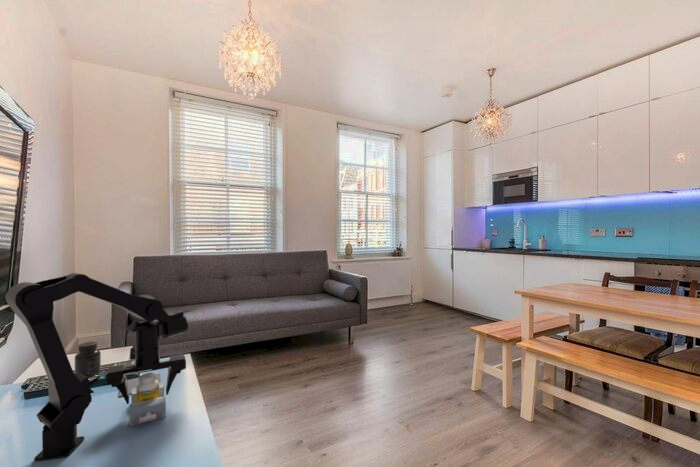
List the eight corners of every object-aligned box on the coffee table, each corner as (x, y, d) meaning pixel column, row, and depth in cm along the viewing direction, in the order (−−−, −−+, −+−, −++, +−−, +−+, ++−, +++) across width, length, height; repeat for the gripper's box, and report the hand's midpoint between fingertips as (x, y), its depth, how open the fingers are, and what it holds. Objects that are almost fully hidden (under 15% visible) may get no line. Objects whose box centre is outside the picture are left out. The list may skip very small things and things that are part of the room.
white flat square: (161, 387, 102) (161, 386, 102) (118, 397, 96) (118, 395, 96) (160, 374, 112) (160, 373, 112) (121, 382, 106) (121, 381, 106)
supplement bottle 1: (69, 382, 106) (69, 346, 105) (91, 373, 112) (91, 339, 112) (84, 385, 104) (84, 348, 103) (105, 376, 110) (105, 341, 110)
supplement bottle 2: (156, 402, 94) (156, 369, 94) (161, 409, 90) (161, 375, 90) (134, 409, 90) (134, 375, 90) (139, 417, 86) (138, 381, 86)
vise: (166, 422, 84) (166, 407, 84) (129, 432, 80) (128, 416, 80) (163, 394, 98) (163, 381, 98) (132, 402, 94) (131, 388, 94)
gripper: (182, 330, 102) (182, 379, 102) (109, 340, 92) (109, 395, 92) (186, 340, 92) (186, 394, 92) (104, 353, 82) (105, 414, 82)
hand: (148, 398), depth 90 cm, fingers open, 9 cm apart
